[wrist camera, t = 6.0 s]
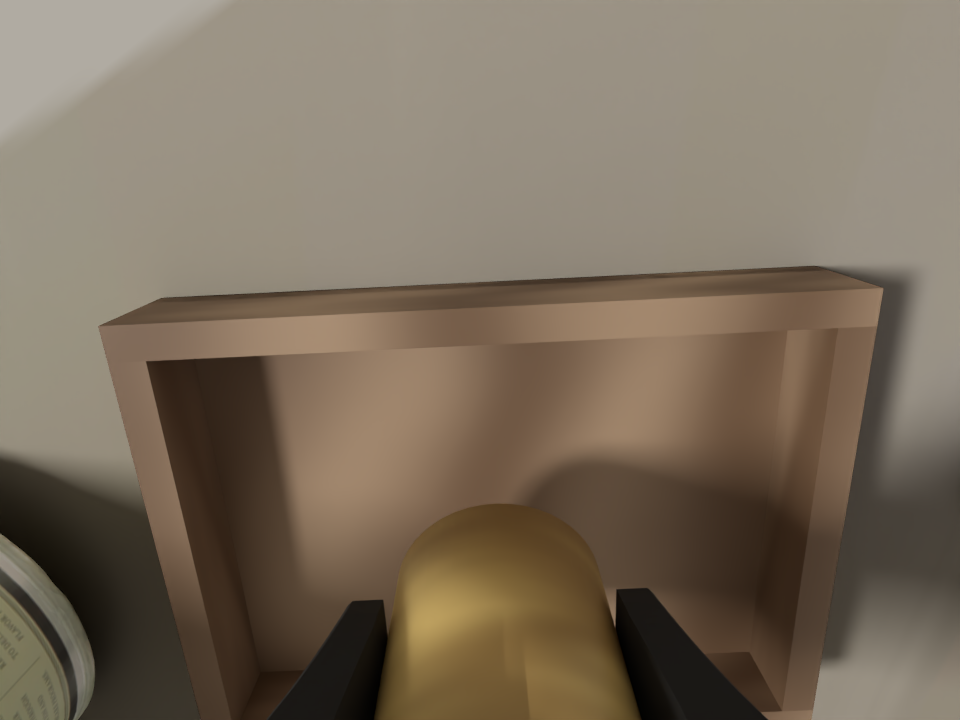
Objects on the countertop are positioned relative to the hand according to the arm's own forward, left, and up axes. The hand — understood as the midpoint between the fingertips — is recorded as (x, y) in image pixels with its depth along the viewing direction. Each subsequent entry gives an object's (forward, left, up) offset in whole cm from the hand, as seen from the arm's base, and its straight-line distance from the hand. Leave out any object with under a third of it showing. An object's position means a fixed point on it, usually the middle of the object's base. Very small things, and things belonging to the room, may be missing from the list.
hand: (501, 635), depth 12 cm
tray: (0, 0, -5) cm, 5 cm away
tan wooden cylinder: (0, 0, -2) cm, 2 cm away
